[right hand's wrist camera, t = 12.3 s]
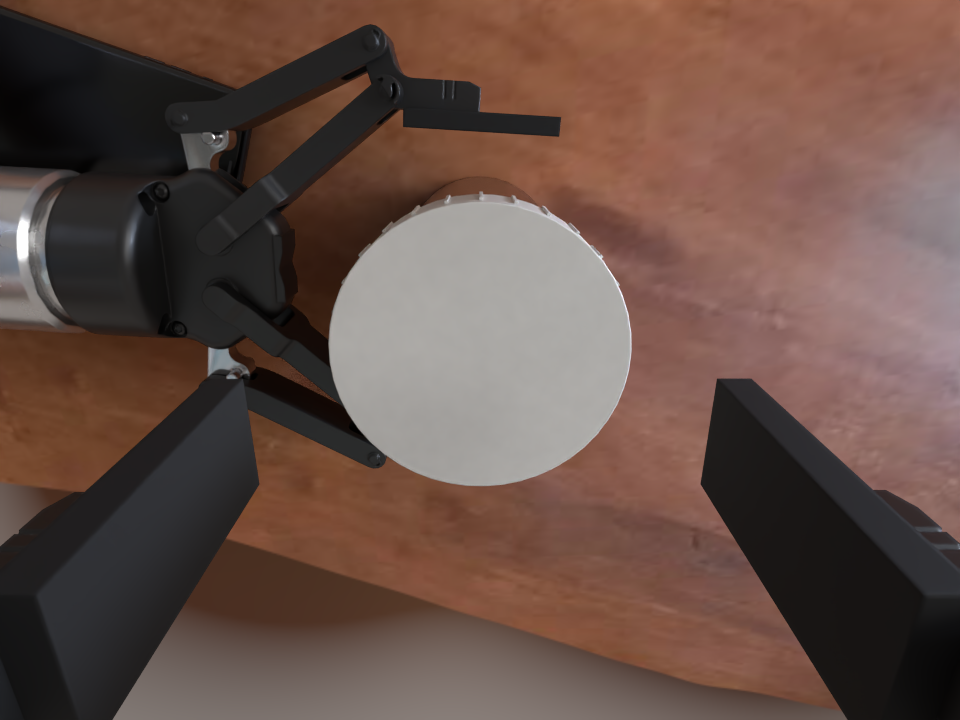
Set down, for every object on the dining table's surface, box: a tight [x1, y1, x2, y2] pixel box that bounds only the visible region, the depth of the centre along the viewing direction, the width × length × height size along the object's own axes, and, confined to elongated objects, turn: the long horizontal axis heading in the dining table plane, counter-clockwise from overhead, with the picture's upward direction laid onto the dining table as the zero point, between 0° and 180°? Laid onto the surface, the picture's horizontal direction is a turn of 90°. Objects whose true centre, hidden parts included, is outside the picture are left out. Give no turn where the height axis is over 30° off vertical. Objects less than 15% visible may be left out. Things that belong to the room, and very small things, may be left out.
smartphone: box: [0, 6, 252, 183], centre depth 31 cm, size 8×1×16 cm
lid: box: [328, 192, 631, 486], centre depth 19 cm, size 9×9×2 cm
